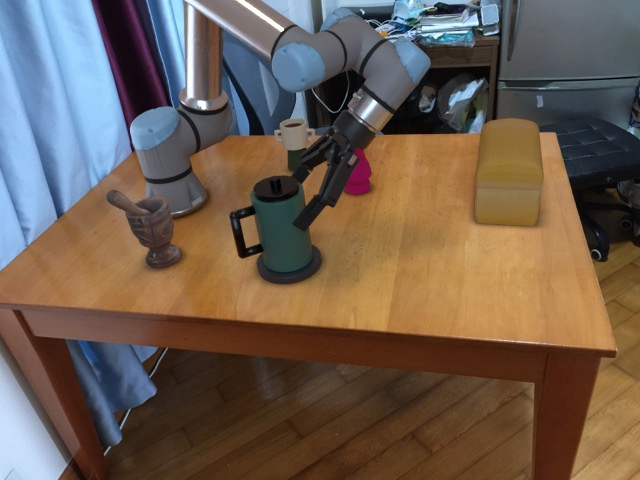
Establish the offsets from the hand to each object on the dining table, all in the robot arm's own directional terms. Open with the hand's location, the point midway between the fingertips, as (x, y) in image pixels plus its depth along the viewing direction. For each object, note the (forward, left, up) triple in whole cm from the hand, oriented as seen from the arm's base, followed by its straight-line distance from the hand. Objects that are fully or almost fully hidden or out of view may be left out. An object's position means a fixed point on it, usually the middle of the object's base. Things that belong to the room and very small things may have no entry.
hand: (291, 210), depth 104 cm
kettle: (0, -2, -10) cm, 11 cm away
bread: (-7, +49, -12) cm, 51 cm away
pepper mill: (-25, +20, -12) cm, 34 cm away
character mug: (-43, +9, -12) cm, 46 cm away
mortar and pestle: (-11, -28, -12) cm, 33 cm away
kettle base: (0, -2, -12) cm, 12 cm away
